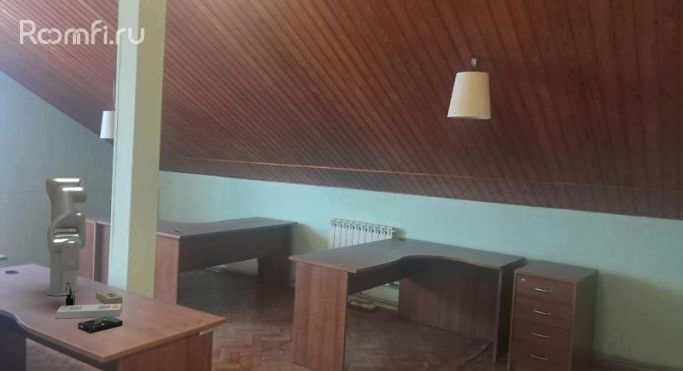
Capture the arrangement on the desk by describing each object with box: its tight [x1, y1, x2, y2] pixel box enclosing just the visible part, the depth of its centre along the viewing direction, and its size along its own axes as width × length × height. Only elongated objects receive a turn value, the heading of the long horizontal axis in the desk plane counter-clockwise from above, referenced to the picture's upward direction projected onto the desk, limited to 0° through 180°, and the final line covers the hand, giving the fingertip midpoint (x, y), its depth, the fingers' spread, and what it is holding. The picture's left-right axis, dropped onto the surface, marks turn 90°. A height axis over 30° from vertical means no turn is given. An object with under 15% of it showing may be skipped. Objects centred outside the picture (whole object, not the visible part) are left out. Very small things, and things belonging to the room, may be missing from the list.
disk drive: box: [77, 316, 124, 334], centre depth 244 cm, size 10×3×15 cm
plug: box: [73, 291, 76, 305], centre depth 267 cm, size 4×4×8 cm
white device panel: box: [55, 303, 123, 320], centre depth 261 cm, size 10×26×3 cm, turn 105°
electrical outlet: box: [95, 289, 123, 305], centre depth 283 cm, size 7×4×18 cm
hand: (70, 304), depth 267 cm, fingers closed on plug, 3 cm apart
